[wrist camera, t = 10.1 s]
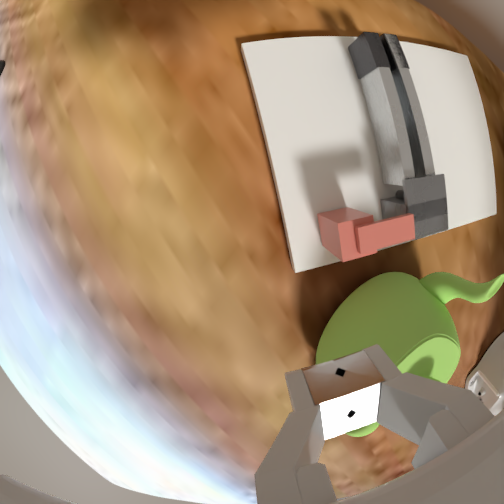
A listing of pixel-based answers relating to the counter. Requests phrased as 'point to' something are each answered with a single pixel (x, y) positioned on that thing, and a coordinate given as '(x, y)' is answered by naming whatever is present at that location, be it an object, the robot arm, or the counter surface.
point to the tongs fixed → (396, 143)
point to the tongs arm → (409, 107)
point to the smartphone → (2, 66)
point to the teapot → (403, 323)
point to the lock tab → (362, 232)
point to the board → (360, 135)
